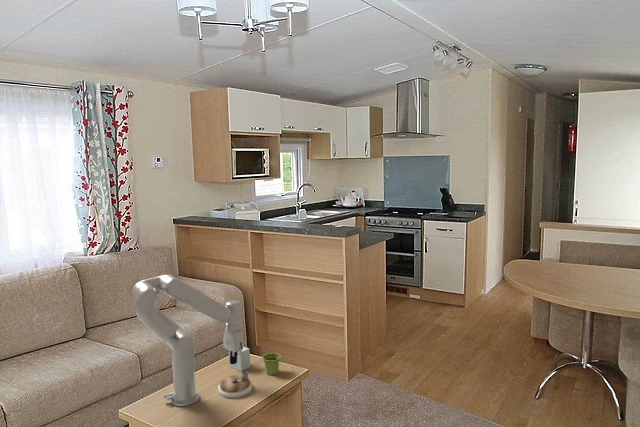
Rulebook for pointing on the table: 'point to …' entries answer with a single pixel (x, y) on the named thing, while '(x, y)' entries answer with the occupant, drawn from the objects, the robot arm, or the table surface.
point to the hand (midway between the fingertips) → (233, 363)
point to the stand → (235, 394)
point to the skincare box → (242, 360)
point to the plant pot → (271, 363)
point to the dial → (235, 383)
